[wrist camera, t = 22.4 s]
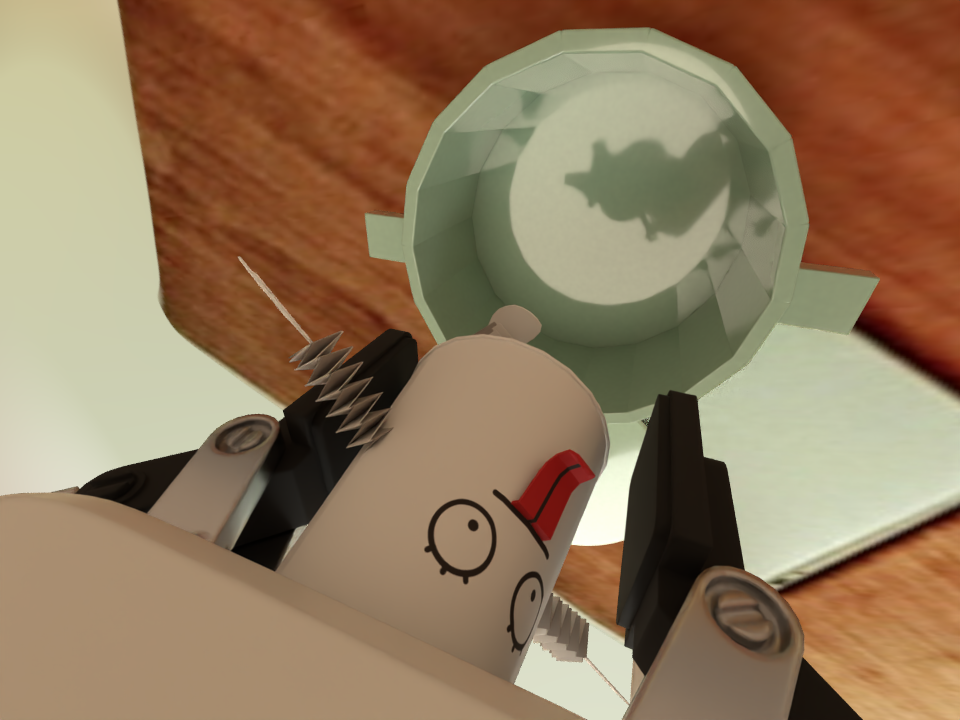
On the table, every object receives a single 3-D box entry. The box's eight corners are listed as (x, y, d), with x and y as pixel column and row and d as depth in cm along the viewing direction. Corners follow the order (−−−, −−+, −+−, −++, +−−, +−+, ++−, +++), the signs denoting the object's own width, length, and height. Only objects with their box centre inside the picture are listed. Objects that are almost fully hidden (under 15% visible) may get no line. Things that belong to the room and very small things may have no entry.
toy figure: (737, 506, 11) (819, 1096, 5) (568, 534, 15) (472, 898, 8) (475, 116, 9) (-153, 171, 2) (344, 257, 12) (-59, 446, 6)
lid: (459, 350, 34) (425, 388, 29) (699, 404, 28) (706, 463, 24) (459, 498, 43) (433, 546, 38) (638, 560, 38) (634, 625, 33)
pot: (427, 57, 24) (333, 35, 17) (899, 54, 17) (1046, 15, 11) (435, 320, 33) (375, 372, 26) (748, 384, 26) (776, 477, 20)
